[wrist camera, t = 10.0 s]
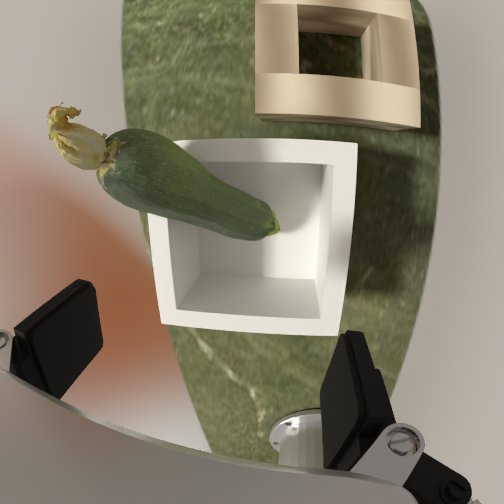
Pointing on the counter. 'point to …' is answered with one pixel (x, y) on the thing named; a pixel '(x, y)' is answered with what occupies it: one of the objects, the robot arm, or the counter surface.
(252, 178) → the bin
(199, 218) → the vegetable
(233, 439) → the counter surface
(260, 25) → the holder
